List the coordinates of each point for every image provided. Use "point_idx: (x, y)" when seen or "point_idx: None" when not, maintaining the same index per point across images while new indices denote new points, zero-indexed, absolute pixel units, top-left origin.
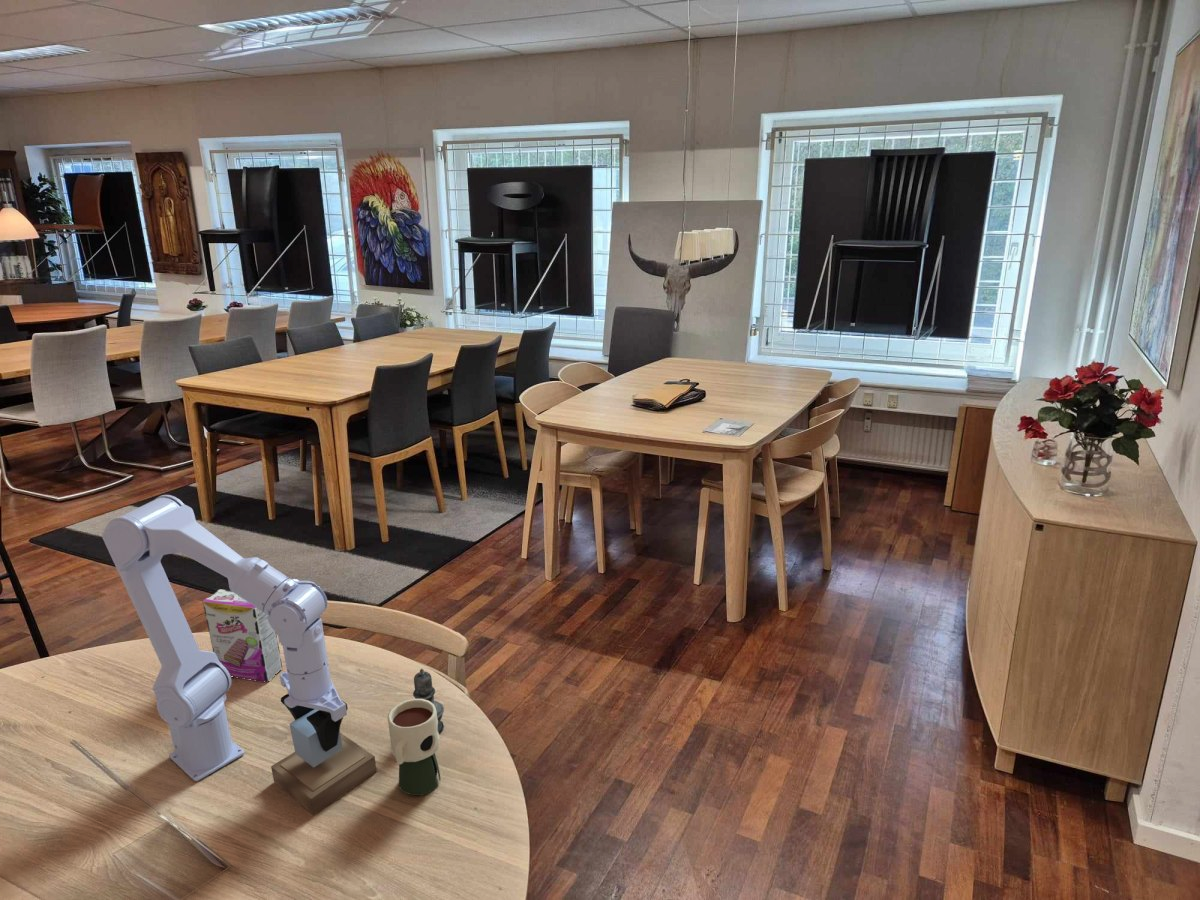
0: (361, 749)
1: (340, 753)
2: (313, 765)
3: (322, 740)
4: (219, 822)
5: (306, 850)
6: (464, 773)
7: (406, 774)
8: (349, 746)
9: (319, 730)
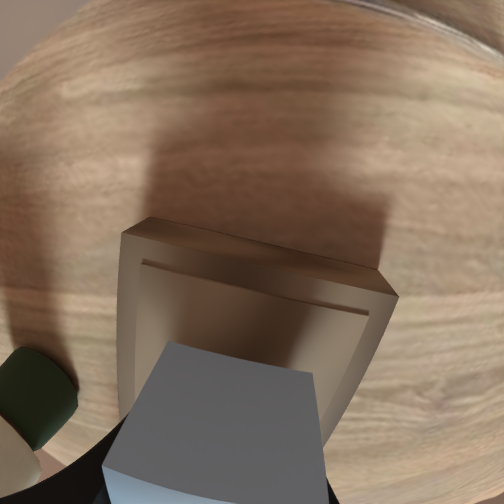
0: None
1: None
2: (165, 347)
3: (88, 452)
4: (403, 78)
5: (80, 119)
6: None
7: (2, 377)
8: None
9: (15, 493)
